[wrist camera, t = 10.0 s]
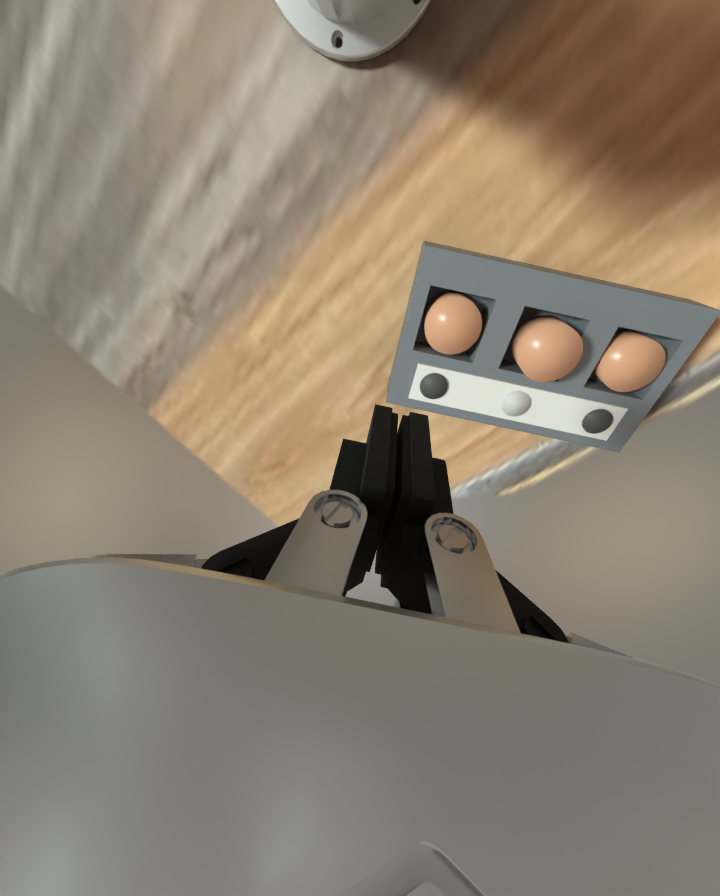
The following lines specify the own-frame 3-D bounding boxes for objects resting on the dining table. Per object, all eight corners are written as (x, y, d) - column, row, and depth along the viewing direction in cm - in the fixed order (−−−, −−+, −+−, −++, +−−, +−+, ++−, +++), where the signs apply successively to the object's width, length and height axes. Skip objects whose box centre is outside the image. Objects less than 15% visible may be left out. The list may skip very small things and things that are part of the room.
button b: (524, 309, 31) (535, 319, 29) (579, 321, 31) (595, 332, 29) (502, 362, 34) (510, 375, 31) (552, 373, 34) (564, 387, 31)
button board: (423, 240, 32) (425, 245, 28) (689, 299, 32) (725, 312, 29) (387, 385, 40) (385, 404, 36) (601, 431, 40) (620, 454, 37)
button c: (605, 323, 33) (622, 333, 30) (657, 334, 33) (678, 345, 30) (578, 372, 36) (591, 385, 33) (626, 382, 36) (643, 397, 33)
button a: (431, 285, 33) (434, 292, 30) (484, 296, 33) (490, 304, 30) (417, 337, 35) (418, 348, 33) (465, 348, 35) (470, 359, 33)
